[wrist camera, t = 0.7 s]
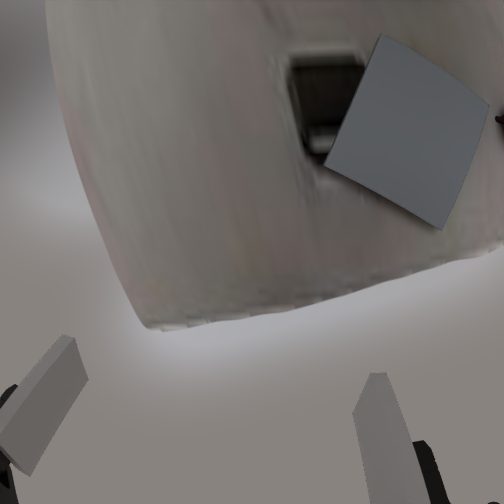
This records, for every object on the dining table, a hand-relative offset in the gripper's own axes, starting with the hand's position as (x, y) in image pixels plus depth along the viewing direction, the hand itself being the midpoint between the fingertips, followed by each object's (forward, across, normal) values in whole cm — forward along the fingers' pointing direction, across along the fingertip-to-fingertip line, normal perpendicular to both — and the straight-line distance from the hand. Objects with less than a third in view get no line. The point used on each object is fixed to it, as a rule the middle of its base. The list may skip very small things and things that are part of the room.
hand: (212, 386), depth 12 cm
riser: (+26, +18, +13) cm, 34 cm away
